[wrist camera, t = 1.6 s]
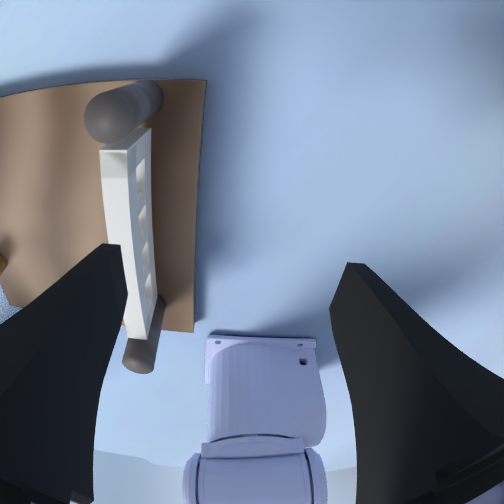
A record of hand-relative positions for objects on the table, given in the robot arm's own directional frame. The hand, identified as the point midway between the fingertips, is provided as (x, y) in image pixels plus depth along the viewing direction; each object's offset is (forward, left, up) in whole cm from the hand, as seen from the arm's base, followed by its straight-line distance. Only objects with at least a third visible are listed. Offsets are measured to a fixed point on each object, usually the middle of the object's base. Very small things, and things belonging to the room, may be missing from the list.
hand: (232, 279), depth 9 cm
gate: (+5, +3, -8) cm, 10 cm away
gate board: (+11, +4, -9) cm, 15 cm away
